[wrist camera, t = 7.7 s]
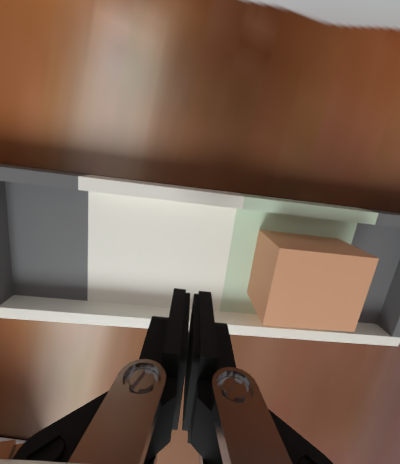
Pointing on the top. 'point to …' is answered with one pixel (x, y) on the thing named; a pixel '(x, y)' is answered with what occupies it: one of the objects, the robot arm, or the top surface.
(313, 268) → the terracotta block
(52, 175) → the track
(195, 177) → the top surface
